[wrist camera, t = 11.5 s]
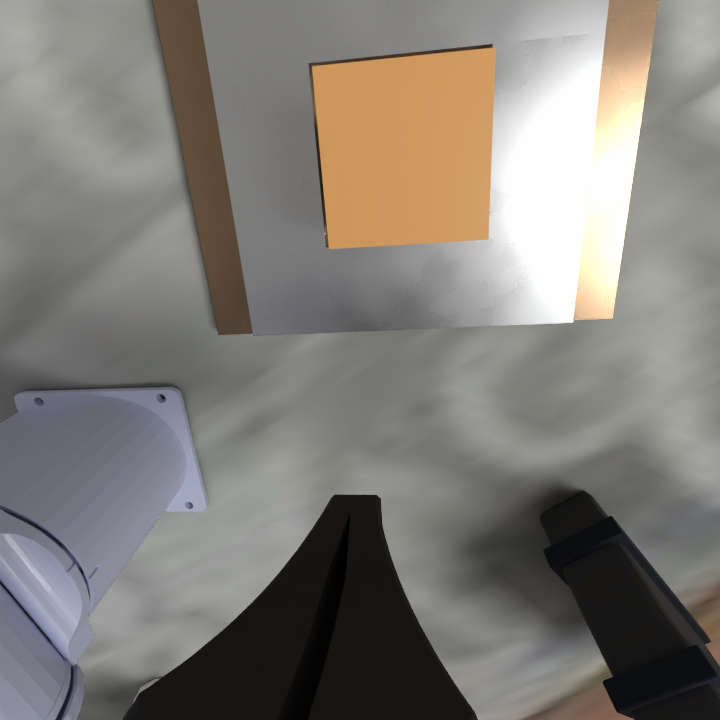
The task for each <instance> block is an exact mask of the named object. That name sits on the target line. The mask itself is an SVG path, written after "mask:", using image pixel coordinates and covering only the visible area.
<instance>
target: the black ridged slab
mask: <svg viewBox="0 0 720 720" xmlns="http://www.w3.org/2000/svg"><path fill="white" fill-rule="evenodd" d="M540 520H541V524H542V526H543V528H544V530H545V533H546V535H547V537H548V539H549V542H550V544H551V546H550V547H548V548H546V549H544V554H545V556H546V558H547V561H548V563H549V566H550V567H551V569H552V570H553V571H554V572H555V573H556V574H557V575H558V576H559V577H560V578H561V579H562V580H563V581H564V582H565V583H566V584H567V585H568V586H569V587H570V588H571V590H572V593H573V595H574V597H575V599H576V601H577V604H578V606H579V608H580V610H581V612H582V614H583V617H584V619H585V621H586V623H587V625H588V627H589V629H590V631H591V633H592V635H593V637H594V639H595V641H596V643H597V645H598V647H599V649H600V651H601V653H602V655H603V657H604V659H605V662H606V664H607V666H608V668H609V670H610V672H611V674H612V676H613V677H611V678H609V679H606V680H604V681H603V685H604V687H605V689H606V691H607V693H608V695H609V697H610V699H611V701H612V703H613V705H614V707H615V709H616V711H617V712H618V713H620V714H623V715H625V716H628V717H630V718H633V719H634V720H720V666H719V665H718V663H717V662H716V660H715V659H714V657H713V656H712V654H711V653H710V651H709V650H708V649H707V647H706V646H705V644H707V643H710V642H711V641H710V639H709V638H708V636H707V635H706V633H705V632H704V631H703V629H702V628H701V627H700V626H699V624H698V623H697V622H696V621H695V619H694V618H693V617H692V616H691V614H690V613H689V612H688V611H687V609H686V608H685V607H684V606H683V604H682V603H681V602H680V601H679V599H678V598H677V597H676V596H675V594H674V593H673V592H672V591H671V589H670V588H669V587H668V586H667V584H666V583H665V582H664V581H663V579H662V578H661V577H660V576H659V574H658V573H657V572H656V571H655V569H654V568H653V567H652V566H651V564H650V563H649V562H648V561H647V559H646V558H645V557H644V556H643V554H642V553H641V552H640V551H639V549H638V548H637V547H636V546H635V544H634V543H633V542H632V541H631V539H630V538H629V537H628V536H627V534H626V533H625V532H624V531H623V529H622V528H621V527H620V526H619V524H618V523H617V522H616V521H615V519H614V518H613V517H612V516H609V517H608V516H607V514H606V513H605V512H604V511H603V509H602V508H601V507H600V506H599V504H598V503H597V502H596V501H595V499H594V498H593V497H592V496H591V495H590V494H588V493H586V492H584V493H581V494H579V495H577V496H575V497H573V498H571V499H569V500H567V501H566V502H564V503H562V504H560V505H558V506H556V507H554V508H553V509H551V510H549V511H547V512H545V513H543V514H542V515H541V516H540Z"/></svg>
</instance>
